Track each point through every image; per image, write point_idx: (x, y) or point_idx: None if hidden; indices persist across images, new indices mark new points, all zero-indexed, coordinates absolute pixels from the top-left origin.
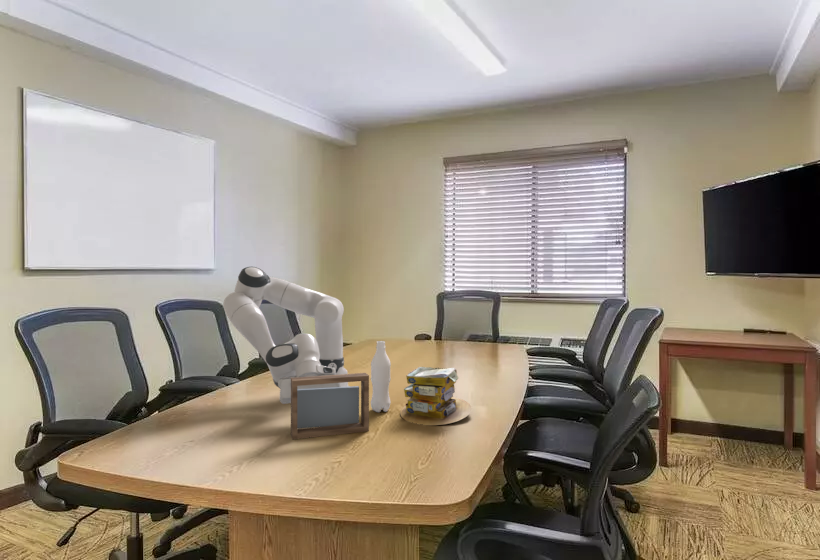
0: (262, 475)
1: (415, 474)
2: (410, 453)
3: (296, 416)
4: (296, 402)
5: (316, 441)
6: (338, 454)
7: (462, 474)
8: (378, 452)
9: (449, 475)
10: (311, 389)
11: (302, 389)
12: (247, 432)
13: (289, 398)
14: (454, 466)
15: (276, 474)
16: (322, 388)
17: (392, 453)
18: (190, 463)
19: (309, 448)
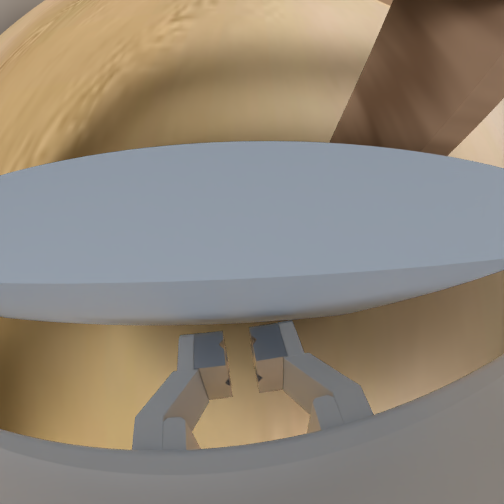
0: (345, 9)
1: (72, 6)
2: (19, 66)
3: (351, 105)
4: (385, 34)
5: (223, 134)
6: (166, 43)
7: (23, 22)
8: (67, 60)
9: (37, 16)
10: (287, 157)
11: (476, 214)
12: (501, 305)
13: (494, 360)
14: (10, 39)
15: (318, 4)
16: (16, 222)
17: (45, 60)
18: (497, 105)
19: (252, 81)
